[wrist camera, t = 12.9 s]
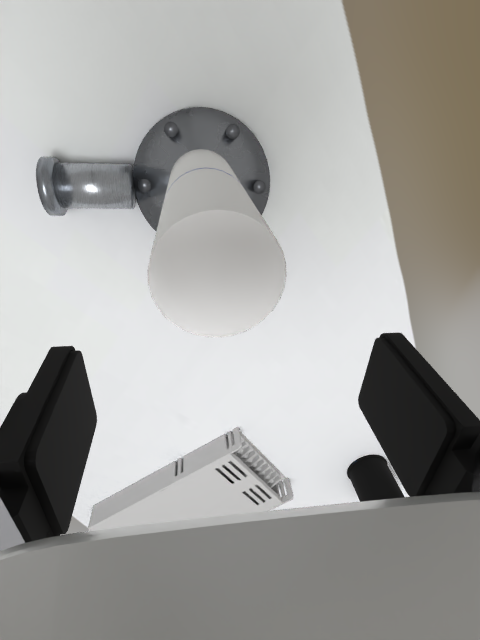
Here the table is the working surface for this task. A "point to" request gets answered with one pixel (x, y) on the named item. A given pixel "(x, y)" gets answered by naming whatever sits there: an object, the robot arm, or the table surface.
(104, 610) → the robot arm
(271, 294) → the cylindrical container
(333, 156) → the table surface
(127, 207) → the flange fitting
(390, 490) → the aerosol can
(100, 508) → the power supply unit
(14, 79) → the table surface
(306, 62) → the table surface
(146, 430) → the table surface
